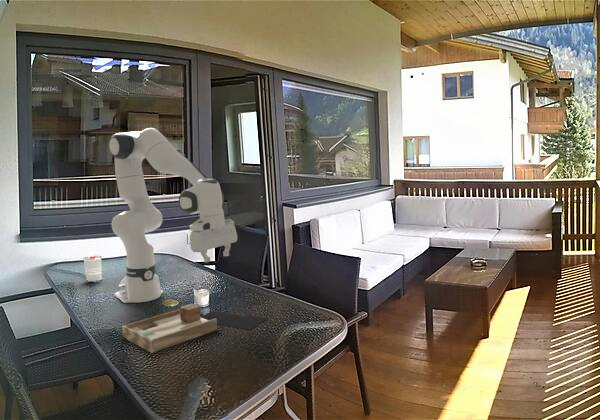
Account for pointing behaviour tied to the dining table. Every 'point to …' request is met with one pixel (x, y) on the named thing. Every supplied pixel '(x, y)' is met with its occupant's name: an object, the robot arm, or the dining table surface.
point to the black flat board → (234, 320)
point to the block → (190, 313)
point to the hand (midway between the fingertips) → (217, 258)
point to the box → (166, 331)
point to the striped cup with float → (93, 268)
